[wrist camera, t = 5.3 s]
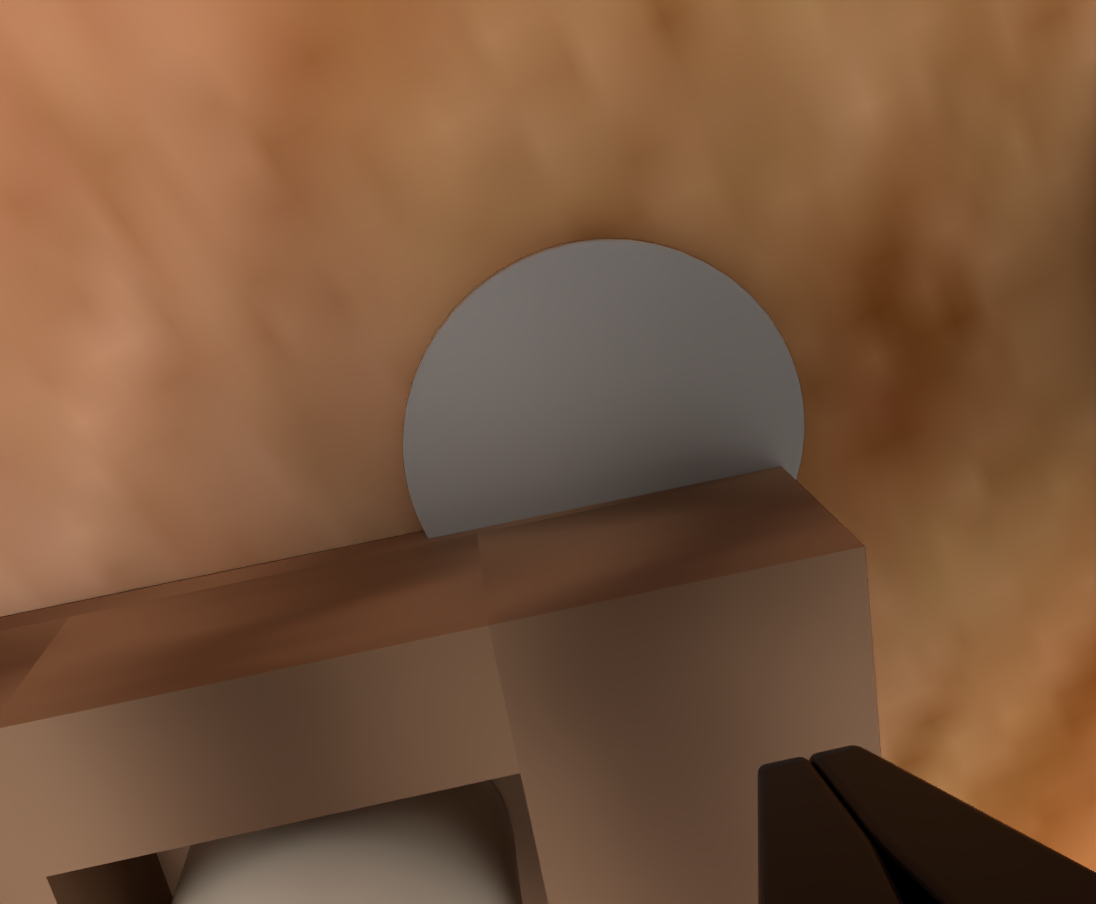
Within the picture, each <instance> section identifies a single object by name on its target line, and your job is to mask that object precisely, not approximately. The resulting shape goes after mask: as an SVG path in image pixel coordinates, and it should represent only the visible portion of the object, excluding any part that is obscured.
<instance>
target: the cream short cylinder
mask: <svg viewBox="0 0 1096 904" xmlns="http://www.w3.org/2000/svg"><path fill="white" fill-rule="evenodd" d="M171 904H522V898H521V890H520V881H519V873H518V865H517V857H516V848H515V841H514V834H513V827H512V824H511V820H510V817H509V814H508V811H507V809H506V807H505V805H504V803H503V800H502V798H501V796H500V794H499V793H498V792H497V790H496V789H495V787H494V786H493V784H492V783H491V781H490V780H486V781H482V782H477V783H473V784H468V785H464V786H459V787H454V788H450V789H445V790H441V791H436V792H431V793H427V794H422V795H418V796H413V797H409V798H404V799H399V800H395V801H390V802H386V803H381V804H377V805H372V806H367V807H363V808H358V809H354V810H349V811H345V812H340V813H335V814H331V815H326V816H322V817H317V818H313V819H308V820H303V821H299V822H294V823H290V824H285V825H281V826H276V827H271V828H267V829H262V830H258V831H253V832H248V833H244V834H239V835H235V836H230V837H226V838H221V839H216V840H212V841H207V842H203V843H198V844H194V845H190V848H189V851H188V854H187V857H186V860H185V863H184V866H183V869H182V872H181V875H180V878H179V881H178V884H177V887H176V890H175V893H174V896H173V899H172V902H171Z"/></svg>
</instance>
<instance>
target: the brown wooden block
mask: <svg viewBox="0 0 1096 904" xmlns="http://www.w3.org/2000/svg"><path fill="white" fill-rule="evenodd" d="M849 745H856V746H860V747H862V748H865V749H867V750H869V751H870V752H872V753H874V754H876V755H878V756H880V757H881V748H880V735H879V722H878V709H877V696H876V683H875V670H874V657H873V644H872V631H871V618H870V605H869V592H868V579H867V566H866V553H865V546H864V545H863V544H862V543H861V542H860V541H859V540H858V539H857V538H856V537H855V536H854V535H853V534H852V533H851V532H850V531H849V530H847V529H846V528H845V527H844V526H843V525H842V524H841V523H840V522H839V521H838V520H837V519H836V518H835V517H834V516H833V515H832V514H831V513H830V512H829V511H828V510H827V509H826V508H825V507H824V506H822V505H821V504H820V503H819V502H818V501H817V500H816V499H815V498H814V497H813V496H812V495H811V494H810V493H809V492H808V491H807V490H806V489H805V488H804V487H803V486H802V485H801V484H800V483H798V482H797V481H796V480H795V479H794V478H793V477H792V476H791V475H790V474H789V473H788V472H787V471H786V470H785V469H784V468H783V467H782V466H780V467H776V468H771V469H766V470H761V471H756V472H751V473H746V474H741V475H737V476H732V477H727V478H722V479H717V480H712V481H707V482H702V483H698V484H693V485H688V486H683V487H678V488H673V489H668V490H663V491H659V492H654V493H649V494H644V495H639V496H634V497H629V498H624V499H619V500H615V501H610V502H605V503H600V504H595V505H590V506H585V507H580V508H576V509H571V510H566V511H561V512H556V513H551V514H546V515H541V516H537V517H532V518H527V519H522V520H517V521H512V522H507V523H502V524H498V525H493V526H488V527H483V528H478V529H473V530H468V531H463V532H459V533H454V534H449V535H444V536H439V537H434V538H428V537H427V535H426V534H425V532H424V531H421V532H416V533H411V534H406V535H401V536H396V537H392V538H387V539H382V540H377V541H372V542H367V543H362V544H357V545H352V546H348V547H343V548H338V549H333V550H328V551H323V552H318V553H313V554H308V555H304V556H299V557H294V558H289V559H284V560H279V561H274V562H269V563H264V564H260V565H255V566H250V567H245V568H240V569H235V570H230V571H225V572H220V573H216V574H211V575H206V576H201V577H196V578H191V579H186V580H181V581H176V582H172V583H167V584H162V585H157V586H152V587H147V588H142V589H137V590H132V591H128V592H123V593H118V594H113V595H108V596H103V597H98V598H93V599H88V600H84V601H79V602H74V603H69V604H64V605H59V606H54V607H49V608H44V609H40V610H35V611H30V612H25V613H20V614H15V615H10V616H5V617H0V904H171V902H172V899H173V896H174V893H175V890H176V887H177V884H178V881H179V878H180V875H181V872H182V869H183V866H184V863H185V860H186V857H187V854H188V851H189V848H190V845H194V844H198V843H203V842H207V841H212V840H216V839H221V838H226V837H230V836H235V835H239V834H244V833H248V832H253V831H258V830H262V829H267V828H271V827H276V826H281V825H285V824H290V823H294V822H299V821H303V820H308V819H313V818H317V817H322V816H326V815H331V814H335V813H340V812H345V811H349V810H354V809H358V808H363V807H367V806H372V805H377V804H381V803H386V802H390V801H395V800H399V799H404V798H409V797H413V796H418V795H422V794H427V793H431V792H436V791H441V790H445V789H450V788H454V787H459V786H464V785H468V784H473V783H477V782H482V781H486V780H490V781H491V783H492V784H493V786H494V787H495V789H496V790H497V792H498V793H499V794H500V796H501V798H502V800H503V803H504V805H505V807H506V809H507V811H508V814H509V817H510V820H511V824H512V827H513V834H514V841H515V848H516V857H517V865H518V873H519V881H520V890H521V898H522V904H758V770H759V768H760V767H761V766H762V765H764V764H767V763H772V762H776V761H781V760H786V759H790V758H795V757H804V758H806V759H808V760H809V759H810V757H811V756H812V755H813V754H814V753H817V752H822V751H827V750H831V749H836V748H840V747H845V746H849Z"/></svg>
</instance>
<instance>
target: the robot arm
mask: <svg viewBox="0 0 1096 904" xmlns="http://www.w3.org/2000/svg"><path fill="white" fill-rule="evenodd" d="M758 904H1096V872H1094V871H1092V870H1090V869H1088V868H1086V867H1084V866H1083V865H1081V864H1079V863H1077V862H1075V861H1073V860H1071V859H1070V858H1068V857H1066V856H1064V855H1062V854H1060V853H1058V852H1057V851H1055V850H1053V849H1051V848H1049V847H1047V846H1045V845H1043V844H1042V843H1040V842H1038V841H1036V840H1034V839H1032V838H1030V837H1029V836H1027V835H1025V834H1023V833H1021V832H1019V831H1017V830H1016V829H1014V828H1012V827H1010V826H1008V825H1006V824H1004V823H1003V822H1001V821H999V820H997V819H995V818H993V817H991V816H990V815H988V814H986V813H984V812H982V811H980V810H978V809H976V808H975V807H973V806H971V805H969V804H967V803H965V802H963V801H962V800H960V799H958V798H956V797H954V796H952V795H950V794H949V793H947V792H945V791H943V790H941V789H939V788H937V787H936V786H934V785H932V784H930V783H928V782H926V781H924V780H922V779H921V778H919V777H917V776H915V775H913V774H911V773H909V772H908V771H906V770H904V769H902V768H900V767H898V766H896V765H895V764H893V763H891V762H889V761H887V760H885V759H883V758H882V757H880V756H878V755H876V754H874V753H872V752H870V751H869V750H867V749H865V748H862V747H860V746H856V745H849V746H845V747H840V748H836V749H831V750H827V751H822V752H817V753H814V754H813V755H812V756H811V757H810V759H809V760H808V759H806V758H804V757H795V758H790V759H786V760H781V761H776V762H772V763H767V764H764V765H762V766H761V767H760V768H759V770H758Z"/></svg>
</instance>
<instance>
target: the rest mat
mask: <svg viewBox="0 0 1096 904" xmlns="http://www.w3.org/2000/svg"><path fill="white" fill-rule="evenodd" d="M803 441H804V406H803V399H802V393H801V387H800V382H799V379H798V375H797V372H796V369H795V366H794V362H793V359H792V357H791V355H790V353H789V350H788V348H787V346H786V344H785V342H784V340H783V338H782V336H781V334H780V333H779V331H778V330H777V328H776V326H775V325H774V323H773V322H772V320H771V319H770V317H769V316H768V314H767V313H766V312H765V311H764V310H763V309H762V308H761V306H760V305H759V304H758V303H757V302H756V301H755V300H754V298H753V297H752V296H751V295H750V294H749V293H747V292H746V291H745V290H744V289H743V288H742V287H740V286H739V285H738V284H737V283H736V282H735V281H733V280H732V279H731V278H730V277H728V276H726V275H725V274H723V273H722V272H720V271H719V270H717V269H715V268H714V267H712V266H711V265H709V264H707V263H705V262H703V261H701V260H699V259H697V258H694V257H692V256H690V255H688V254H686V253H683V252H681V251H679V250H676V249H672V248H669V247H666V246H662V245H659V244H655V243H651V242H644V241H638V240H631V239H604V238H598V239H590V240H582V241H574V242H569V243H565V244H561V245H557V246H553V247H550V248H546V249H543V250H541V251H538V252H536V253H533V254H531V255H528V256H526V257H523V258H521V259H519V260H517V261H515V262H513V263H512V264H510V265H508V266H506V267H505V268H503V269H501V270H499V271H498V272H496V273H494V274H493V275H492V276H490V277H489V278H488V279H486V280H485V281H484V282H482V283H481V284H480V285H479V286H477V287H476V288H475V289H473V290H472V291H471V292H470V293H469V294H468V295H467V296H466V297H465V298H464V299H463V300H462V301H461V302H460V303H459V304H458V305H457V306H456V307H455V308H454V309H453V310H452V312H451V313H450V314H449V315H448V317H447V318H446V319H445V321H444V322H443V323H442V325H441V326H440V327H439V328H438V330H437V331H436V333H435V335H434V336H433V338H432V340H431V341H430V343H429V345H428V347H427V348H426V350H425V352H424V354H423V356H422V358H421V361H420V363H419V366H418V368H417V370H416V373H415V375H414V378H413V381H412V385H411V389H410V393H409V397H408V400H407V405H406V413H405V422H404V430H403V459H404V468H405V474H406V480H407V487H408V490H409V493H410V497H411V500H412V503H413V506H414V510H415V512H416V515H417V517H418V519H419V521H420V523H421V525H422V527H423V529H424V532H425V534H426V535H427V537H428V538H434V537H439V536H444V535H449V534H454V533H459V532H463V531H468V530H473V529H478V528H483V527H488V526H493V525H498V524H502V523H507V522H512V521H517V520H522V519H527V518H532V517H537V516H541V515H546V514H551V513H556V512H561V511H566V510H571V509H576V508H580V507H585V506H590V505H595V504H600V503H605V502H610V501H615V500H619V499H624V498H629V497H634V496H639V495H644V494H649V493H654V492H659V491H663V490H668V489H673V488H678V487H683V486H688V485H693V484H698V483H702V482H707V481H712V480H717V479H722V478H727V477H732V476H737V475H741V474H746V473H751V472H756V471H761V470H766V469H771V468H776V467H780V466H782V467H783V468H784V469H785V470H786V471H787V472H788V473H789V474H790V475H791V476H792V477H793V478H794V479H795V480H796V479H797V475H798V471H799V467H800V463H801V458H802V451H803Z"/></svg>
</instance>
